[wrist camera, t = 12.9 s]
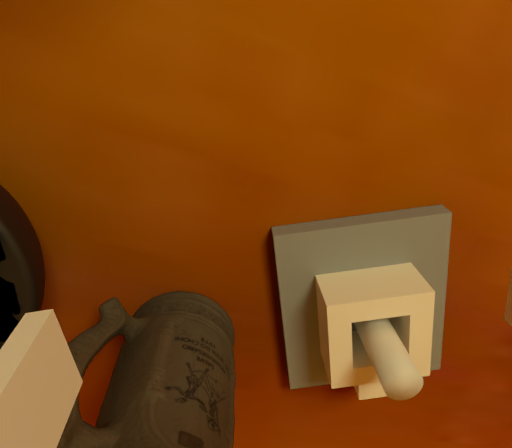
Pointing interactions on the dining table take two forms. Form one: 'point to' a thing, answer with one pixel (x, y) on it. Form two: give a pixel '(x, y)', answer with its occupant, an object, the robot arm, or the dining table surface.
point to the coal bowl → (18, 266)
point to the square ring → (371, 308)
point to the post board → (353, 258)
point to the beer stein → (160, 376)
